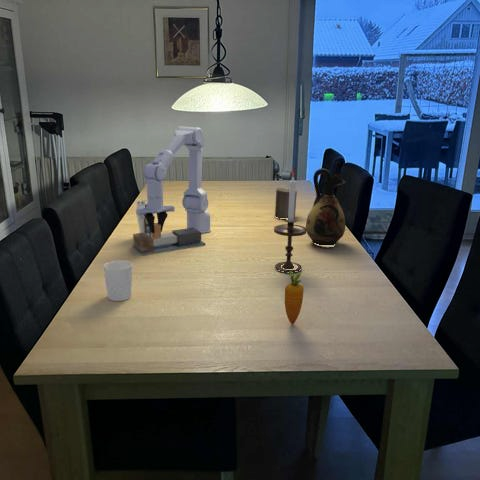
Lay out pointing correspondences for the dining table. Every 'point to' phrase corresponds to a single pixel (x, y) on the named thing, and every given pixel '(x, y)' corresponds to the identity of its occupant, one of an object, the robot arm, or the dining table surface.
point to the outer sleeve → (185, 239)
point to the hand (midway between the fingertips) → (156, 231)
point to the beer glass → (143, 219)
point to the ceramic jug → (326, 212)
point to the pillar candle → (283, 202)
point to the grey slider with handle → (163, 236)
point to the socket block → (143, 242)
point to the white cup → (118, 280)
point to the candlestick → (290, 230)
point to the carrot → (293, 298)
